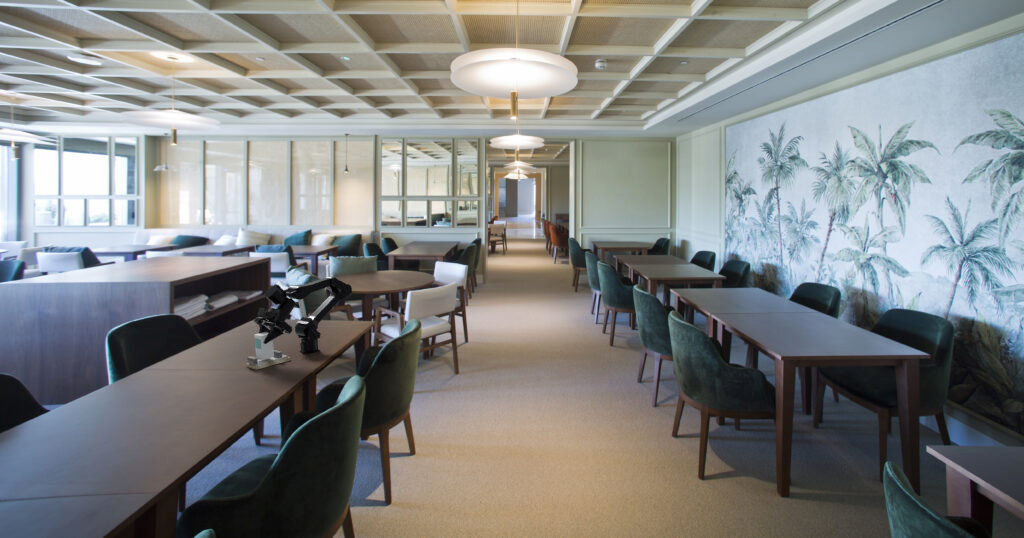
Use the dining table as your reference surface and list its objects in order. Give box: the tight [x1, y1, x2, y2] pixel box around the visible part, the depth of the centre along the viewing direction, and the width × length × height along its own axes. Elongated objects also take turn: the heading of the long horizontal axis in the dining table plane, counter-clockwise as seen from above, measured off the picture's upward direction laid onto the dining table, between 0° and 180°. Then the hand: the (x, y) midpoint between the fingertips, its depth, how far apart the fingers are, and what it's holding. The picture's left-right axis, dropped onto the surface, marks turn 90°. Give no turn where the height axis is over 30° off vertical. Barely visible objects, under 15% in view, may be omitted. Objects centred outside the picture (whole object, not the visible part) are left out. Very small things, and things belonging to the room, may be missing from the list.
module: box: [253, 332, 275, 360], centre depth 211 cm, size 5×4×10 cm
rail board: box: [245, 349, 291, 370], centre depth 213 cm, size 15×8×4 cm, turn 145°
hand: (260, 342), depth 209 cm, fingers closed on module, 4 cm apart
